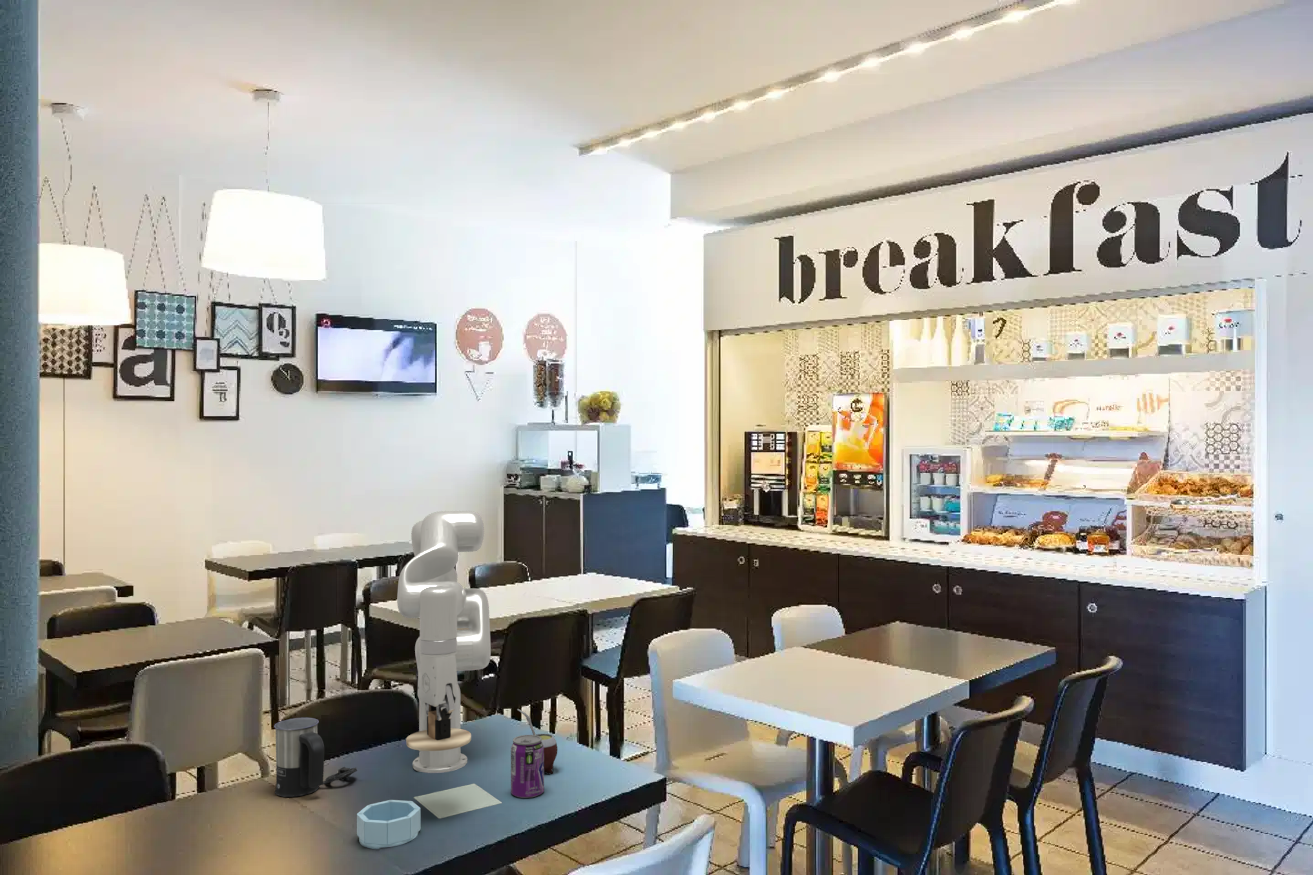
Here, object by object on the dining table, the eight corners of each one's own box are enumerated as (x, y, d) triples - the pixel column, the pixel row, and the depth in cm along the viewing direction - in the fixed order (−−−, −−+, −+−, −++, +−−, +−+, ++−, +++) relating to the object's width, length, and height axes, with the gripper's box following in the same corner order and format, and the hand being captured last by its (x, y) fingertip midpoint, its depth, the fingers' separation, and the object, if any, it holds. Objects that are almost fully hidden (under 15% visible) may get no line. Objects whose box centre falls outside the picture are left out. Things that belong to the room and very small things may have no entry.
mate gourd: (563, 769, 219) (563, 705, 219) (541, 779, 213) (541, 713, 213) (538, 763, 223) (538, 700, 223) (516, 773, 217) (516, 708, 217)
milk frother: (264, 794, 205) (264, 726, 205) (316, 771, 219) (316, 707, 219) (316, 803, 199) (316, 733, 199) (365, 779, 214) (365, 713, 214)
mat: (413, 799, 201) (413, 797, 201) (474, 785, 209) (474, 783, 209) (439, 820, 190) (439, 818, 190) (502, 804, 198) (502, 802, 198)
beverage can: (537, 801, 199) (537, 745, 200) (506, 799, 201) (505, 743, 201) (548, 789, 206) (548, 734, 207) (517, 787, 208) (517, 733, 208)
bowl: (351, 834, 183) (351, 808, 183) (406, 820, 190) (406, 796, 190) (370, 854, 174) (370, 827, 174) (427, 839, 181) (426, 813, 181)
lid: (396, 740, 195) (396, 711, 195) (454, 729, 203) (454, 701, 203) (421, 755, 185) (421, 724, 185) (482, 742, 193) (481, 713, 193)
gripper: (405, 643, 199) (405, 731, 198) (438, 655, 186) (438, 749, 185) (438, 639, 203) (439, 725, 203) (472, 650, 190) (473, 742, 190)
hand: (438, 735), depth 194 cm, fingers closed on lid, 3 cm apart
